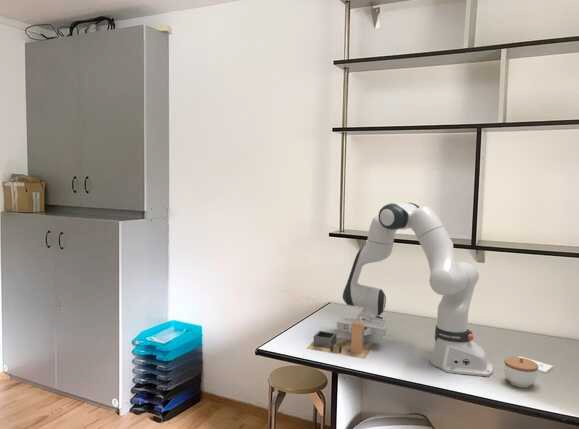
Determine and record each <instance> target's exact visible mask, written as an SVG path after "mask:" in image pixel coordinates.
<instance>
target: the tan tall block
mask: <svg viewBox="0 0 579 429" xmlns="http://www.w3.org/2000/svg"><path fill="white" fill-rule="evenodd" d="M354 319H355V320H354V321H353V323H352V334H351V340H350V341H351V352H352V353H358V354H361V353H362V351H363V343H364V340H365V339H364V337H365V336H364V335H362V334H363V333H362V331H363V330H364V321H362V317H360V318H359V321H357V319H358V316H357V315H356V316H355V317H354Z"/></svg>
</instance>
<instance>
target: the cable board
mask: <svg viewBox="0 0 579 429" xmlns="http://www.w3.org/2000/svg"><path fill="white" fill-rule="evenodd" d="M313 342H314V340H312V342H311V343H310V344H309V345H308V346H307V347H305V349H307V350H311V351H312V350H313V351H317V352H323V353H330V354H335V355H340V356H346V357H352V358H358V359H363V360H364V359H366V357H368V356H367V355H368V354H369V353H370V351H371V349H372V348H373V346H374V345H375V344H373V343H368V342H363V351H362V353H361V354H358V353H352V352H351V340H349V339H343V338H337V340H336V344H335V345H331V349H329V348H323V347H317V346H313Z"/></svg>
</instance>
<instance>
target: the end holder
mask: <svg viewBox="0 0 579 429" xmlns="http://www.w3.org/2000/svg"><path fill="white" fill-rule="evenodd" d="M337 334H338V333H336V332H330V331H324V330H323V331H322V330H319V331H318V332H317V333H315V335H314V336H313V341H314V342H313V341H312V342H313V346H317V347H323V348H329V349H331V345H335V344H336V340H337V339H338V338H337V336H338V335H337Z"/></svg>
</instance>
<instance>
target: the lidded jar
mask: <svg viewBox="0 0 579 429" xmlns="http://www.w3.org/2000/svg"><path fill="white" fill-rule="evenodd" d="M525 358H526V357H524V358H520V357H519V356H509V357H506V358H504V361H503V362H504V368H503V369H504V374H505V376H506V378H507V380H508V381H509V383H510V384H511V385H512V386H515V387H518V388H521V389H522V388H525V389H526V388H529V387H530V386H531V385H533V384H534V382H535V381H536V380H537V376H538V365H537V363H535V362H533V361H531V360H532V359H531V360H529V359H530V358H528V359H525Z"/></svg>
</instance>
